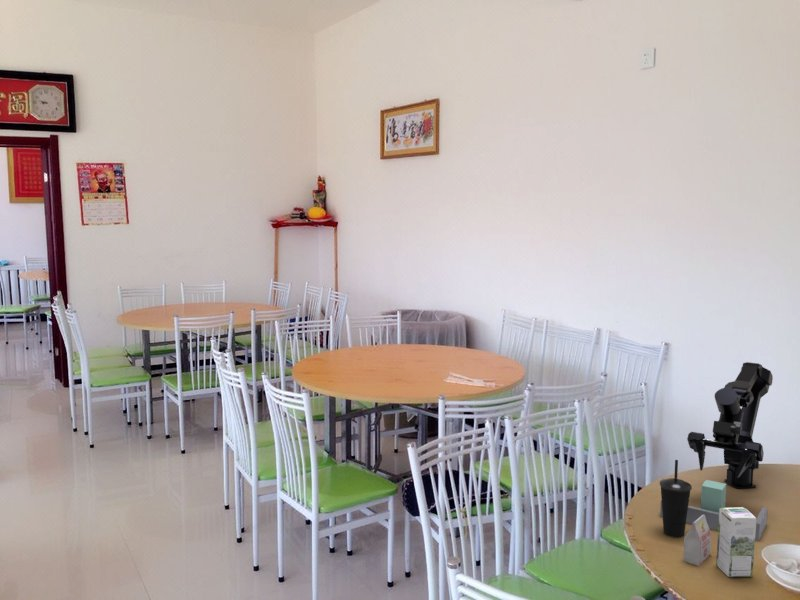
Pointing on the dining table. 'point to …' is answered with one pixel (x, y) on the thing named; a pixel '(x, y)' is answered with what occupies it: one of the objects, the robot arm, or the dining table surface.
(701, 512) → the open crate
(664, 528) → the drinking cup
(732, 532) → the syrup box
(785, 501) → the dining table surface
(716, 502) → the green block
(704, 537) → the small gable top carton
